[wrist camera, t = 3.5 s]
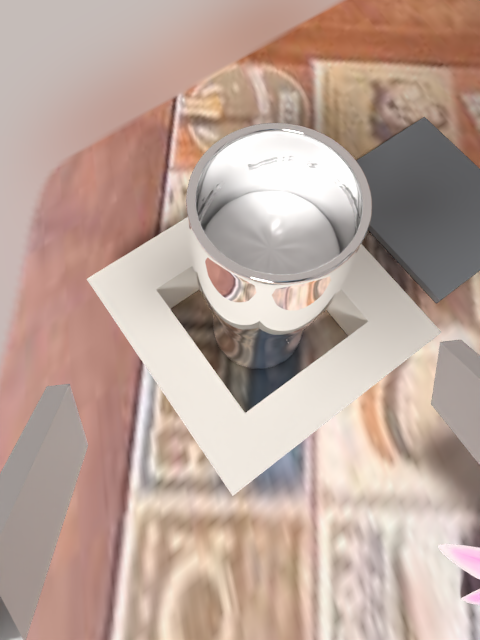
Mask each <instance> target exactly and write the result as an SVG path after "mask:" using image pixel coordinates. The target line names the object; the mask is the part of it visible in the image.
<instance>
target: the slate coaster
mask: <svg viewBox="0 0 480 640" xmlns="http://www.w3.org/2000/svg"><path fill="white" fill-rule="evenodd" d="M357 163H358V164H359V166H360V167H361V169H362V171H363V172H364V174H365V176H366V179H367V181H368V184H369V188H370V192H371V197H372V215H371V221H370V225H369V228H368V230H369V231H370V232H371V233H372V234H373V235H374V237H375V238H376V239H377V240H378V241H379V242H380V243H381V244H382V245H383V246H384V247H385V248H386V250H387V251H388V252H389V253H390V254H391V255H392V256H393V257H394V258H395V259H396V260H397V261H398V263H399V264H400V265H401V266H402V267H403V268H404V269H405V270H406V271H407V272H408V273H409V274H410V276H411V277H412V278H413V279H414V280H415V281H416V282H417V283H418V284H419V285H420V286H421V287H422V288H423V290H424V291H425V292H426V293H427V294H428V295H429V296H430V297H431V298H432V299H433V300H434V301H435V303H438V302H439V301H440V300H442V299H443V298H444V297H446V296H447V295H448V294H449V293H451V292H452V291H453V290H455V289H456V288H457V287H459V286H460V285H461V284H463V283H464V282H465V281H466V280H468V279H469V278H470V277H472V276H473V275H474V274H476V273H477V272H478V271H480V169H479V168H478V167H477V166H476V165H475V164H474V163H473V162H472V161H471V160H470V159H469V158H468V157H467V156H465V155H464V154H463V153H462V152H461V151H460V150H459V149H458V148H457V147H456V146H455V145H454V144H453V143H452V142H451V141H449V140H448V139H447V138H446V137H445V136H444V135H443V134H442V133H441V132H440V131H439V130H438V129H437V128H436V127H435V126H434V125H432V124H431V123H430V122H429V121H428V120H427V119H426V118H425V117H423V118H422V119H420V120H419V121H417V122H416V123H414V124H413V125H411V126H409V127H408V128H406V129H405V130H403V131H402V132H400V133H399V134H397V135H395V136H394V137H392V138H391V139H389V140H388V141H386V142H385V143H383V144H381V145H380V146H378V147H377V148H375V149H374V150H372V151H371V152H369V153H368V154H366V155H364V156H363V157H361V158H360V159H358V160H357Z"/></svg>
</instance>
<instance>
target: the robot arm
mask: <svg viewBox="0 0 480 640" xmlns="http://www.w3.org/2000/svg"><path fill="white" fill-rule="evenodd" d="M431 405H432V406H433V407H434V408H435V410H436V411H437V412H438V413H439V415H440V416H441V417H442V418H443V420H444V421H445V422H446V423H447V425H448V426H449V427H450V428H451V430H452V431H453V432H454V433H455V435H456V436H457V437H458V438H459V440H460V441H461V442H462V443H463V445H464V446H465V447H466V448H467V450H468V451H469V452H470V454H471V455H472V456H473V457H474V459H475V460H476V461H477V462H478V464H479V465H480V356H479V355H478V354H477V353H476V352H475V351H474V350H472V349H471V348H470V347H469V346H468V345H467V344H465V343H464V342H463V341H462V340H454V341H445V342H440V348H439V354H438V361H437V368H436V374H435V381H434V388H433V394H432V401H431ZM87 447H88V443H87V440H86V437H85V433H84V430H83V427H82V423H81V420H80V417H79V413H78V410H77V407H76V403H75V400H74V397H73V393H72V390H71V387H70V384H64V385H55V386H47V387H46V389H45V391H44V393H43V395H42V397H41V399H40V400H39V402H38V404H37V406H36V408H35V410H34V412H33V413H32V415H31V417H30V419H29V421H28V423H27V425H26V426H25V428H24V430H23V432H22V434H21V436H20V438H19V440H18V441H17V443H16V445H15V447H14V449H13V451H12V453H11V454H10V456H9V458H8V460H7V462H6V464H5V466H4V467H3V469H2V471H1V473H0V640H26V638H27V634H28V631H29V628H30V625H31V622H32V619H33V616H34V613H35V610H36V606H37V603H38V600H39V597H40V594H41V591H42V588H43V585H44V581H45V578H46V575H47V572H48V569H49V566H50V563H51V560H52V556H53V553H54V550H55V547H56V544H57V541H58V538H59V535H60V531H61V528H62V525H63V522H64V519H65V516H66V513H67V510H68V507H69V503H70V500H71V497H72V494H73V491H74V488H75V485H76V482H77V478H78V475H79V472H80V469H81V466H82V463H83V460H84V457H85V453H86V450H87Z"/></svg>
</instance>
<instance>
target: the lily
mask: <svg viewBox="0 0 480 640" xmlns="http://www.w3.org/2000/svg"><path fill="white" fill-rule="evenodd" d="M438 547H439V550H440V551H441V552H442V553H443V554H444V555H445V556H446V557H447V558H448V559H449V560H451V561H452V562H453V563H455V564H456V565H457V566H458V567H460V568H461V569H463V570H464V571H466V572H467V573H469V574H471V575H472V576H474V577H475V578H477V579H479V580H480V548H479V547H472V546H464V545H455V544H441V545H438ZM461 600H464V601H465V602H467V603H471V604H476V605H480V589H478V590H476V591H474V592H472V593H470V594H468V595H466V596H464V597H462V598H461Z"/></svg>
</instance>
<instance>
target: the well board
mask: <svg viewBox="0 0 480 640" xmlns="http://www.w3.org/2000/svg"><path fill="white" fill-rule="evenodd" d="M87 280H88V282H89V283H90V285H91V286H92V287H93V289H94V290H95V292H96V293H97V295H98V296H99V298H100V299H101V301H102V302H103V304H104V305H105V307H106V308H107V310H108V311H109V313H110V314H111V316H112V317H113V319H114V320H115V322H116V323H117V325H118V326H119V328H120V329H121V331H122V332H123V334H124V335H125V337H126V338H127V339H128V341H129V342H130V344H131V345H132V347H133V348H134V350H135V351H136V353H137V354H138V356H139V357H140V359H141V360H142V362H143V363H144V365H145V366H146V368H147V369H148V371H149V372H150V374H151V375H152V377H153V378H154V380H155V381H156V383H157V384H158V386H159V387H160V389H161V390H162V391H163V393H164V394H165V396H166V397H167V399H168V400H169V402H170V403H171V405H172V406H173V408H174V409H175V411H176V412H177V414H178V415H179V417H180V418H181V420H182V421H183V423H184V424H185V426H186V427H187V429H188V430H189V432H190V433H191V435H192V436H193V438H194V439H195V441H196V442H197V443H198V445H199V446H200V448H201V449H202V451H203V452H204V454H205V455H206V457H207V458H208V460H209V461H210V463H211V464H212V466H213V467H214V469H215V470H216V472H217V473H218V475H219V476H220V478H221V479H222V481H223V482H224V484H225V485H226V487H227V488H228V490H229V491H230V493H231V494H232V495H234V494H236V493H237V492H238V491H240V490H241V489H242V488H243V487H245V486H246V485H247V484H248V483H250V482H251V481H252V480H254V479H255V478H256V477H257V476H259V475H260V474H261V473H262V472H264V471H265V470H266V469H268V468H269V467H270V466H271V465H273V464H274V463H275V462H277V461H278V460H279V459H280V458H282V457H283V456H284V455H285V454H287V453H288V452H289V451H291V450H292V449H293V448H294V447H296V446H297V445H298V444H299V443H301V442H302V441H303V440H305V439H306V438H307V437H308V436H310V435H311V434H312V433H314V432H315V431H316V430H317V429H319V428H320V427H321V426H322V425H324V424H325V423H326V422H328V421H329V420H330V419H331V418H333V417H334V416H335V415H336V414H338V413H339V412H340V411H342V410H343V409H344V408H345V407H347V406H348V405H349V404H351V403H352V402H353V401H354V400H356V399H357V398H358V397H359V396H361V395H362V394H363V393H365V392H366V391H367V390H368V389H370V388H371V387H372V386H373V385H375V384H376V383H377V382H379V381H380V380H381V379H382V378H384V377H385V376H386V375H388V374H389V373H390V372H391V371H393V370H394V369H395V368H396V367H398V366H399V365H400V364H402V363H403V362H404V361H405V360H407V359H408V358H409V357H410V356H412V355H413V354H414V353H416V352H417V351H418V350H419V349H421V348H422V347H423V346H425V345H426V344H427V343H428V342H430V341H431V340H432V339H433V338H435V337H436V336H437V335H439V334H440V333H441V331H440V330H439V329H438V328H437V327H436V326H435V324H434V323H433V322H432V321H431V320H430V319H429V318H428V317H427V316H426V315H425V313H424V312H423V311H422V310H421V309H420V308H419V307H418V306H417V305H416V303H415V302H414V301H413V300H412V299H411V298H410V297H409V296H408V295H407V294H406V292H405V291H404V290H403V289H402V288H401V287H400V286H399V285H398V284H397V283H396V281H395V280H394V279H393V278H392V277H391V276H390V275H389V274H388V273H387V272H386V270H385V269H384V268H383V267H382V266H381V265H380V264H379V263H378V262H377V261H376V259H375V258H374V257H373V256H372V255H371V254H370V253H369V252H368V251H367V250H366V248H365V247H364V246H363V245H362V244H361V245H360V248H359V250H358V253H357V256H356V258H355V261H354V263H353V266H352V268H351V270H350V273H349V275H348V277H347V279H346V281H345V282H344V284H343V286H342V288H341V290H340V292H339V293H338V295H337V296H336V297H335V299H334V300H333V302H332V303H331V304H330V306H329V307H328V308H327V311H328V312H329V314H330V315H331V316H332V317H333V318H334V320H335V321H336V322H337V323H338V324H339V325H340V327H341V328H342V329H343V330H344V331H345V333H346V334H347V335H348V337H347V338H346V339H344V340H343V341H341V342H340V343H339V344H337V345H336V346H335V347H333V348H332V349H331V350H329V351H328V352H327V353H325V354H324V355H323V356H321V357H320V358H319V359H317V360H316V361H315V362H313V363H312V364H311V365H309V366H308V367H307V368H305V369H304V370H302V371H301V372H300V373H298V374H297V375H296V376H294V377H293V378H292V379H290V380H289V381H288V382H286V383H285V384H284V385H282V386H281V387H280V388H278V389H277V390H276V391H274V392H273V393H272V394H270V395H269V396H268V397H266V398H265V399H263V400H262V401H261V402H259V403H258V404H257V405H255V406H254V407H253V408H251V409H250V410H249V411H247V412H246V413H245V412H244V411H243V410H242V408H241V407H240V405H239V404H238V403H237V401H236V400H235V398H234V397H233V396H232V394H231V393H230V391H229V390H228V389H227V387H226V386H225V385H224V383H223V382H222V380H221V379H220V378H219V376H218V375H217V373H216V372H215V371H214V369H213V368H212V366H211V365H210V364H209V362H208V361H207V360H206V358H205V357H204V355H203V354H202V353H201V351H200V350H199V348H198V347H197V346H196V344H195V343H194V341H193V340H192V339H191V337H190V336H189V335H188V333H187V332H186V330H185V329H184V328H183V326H182V325H181V323H180V322H179V321H178V319H177V318H176V316H175V315H174V314H173V312H172V311H171V310H170V309H171V308H172V307H174V306H175V305H177V304H178V303H180V302H181V301H183V300H184V299H186V298H187V297H189V296H190V295H192V294H193V293H195V292H196V291H198V290H199V287H198V284H197V281H196V277H195V274H194V270H193V266H192V260H191V253H190V245H189V225H188V217H187V218H185V219H183V220H182V221H180V222H178V223H177V224H175V225H174V226H172V227H170V228H169V229H167V230H165V231H164V232H162V233H161V234H159V235H157V236H156V237H154V238H152V239H151V240H149V241H148V242H146V243H144V244H143V245H141V246H139V247H138V248H136V249H135V250H133V251H131V252H130V253H128V254H126V255H125V256H123V257H122V258H120V259H118V260H117V261H115V262H113V263H112V264H110V265H109V266H107V267H105V268H104V269H102V270H100V271H99V272H97V273H96V274H94V275H92V276H91V277H89V278H87Z"/></svg>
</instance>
